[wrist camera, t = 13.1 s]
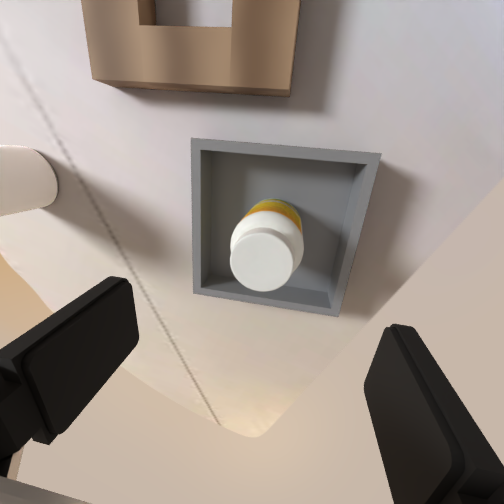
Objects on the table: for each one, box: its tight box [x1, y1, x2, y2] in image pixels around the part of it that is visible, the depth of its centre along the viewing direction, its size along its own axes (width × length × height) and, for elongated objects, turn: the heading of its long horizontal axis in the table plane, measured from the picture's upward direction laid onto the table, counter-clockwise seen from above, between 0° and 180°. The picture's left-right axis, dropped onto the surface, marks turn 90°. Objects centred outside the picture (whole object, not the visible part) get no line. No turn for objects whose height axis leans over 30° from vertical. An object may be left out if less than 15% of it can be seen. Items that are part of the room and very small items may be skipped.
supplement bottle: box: [230, 198, 304, 292], centre depth 19 cm, size 5×5×10 cm
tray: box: [191, 138, 382, 317], centre depth 23 cm, size 14×14×4 cm
